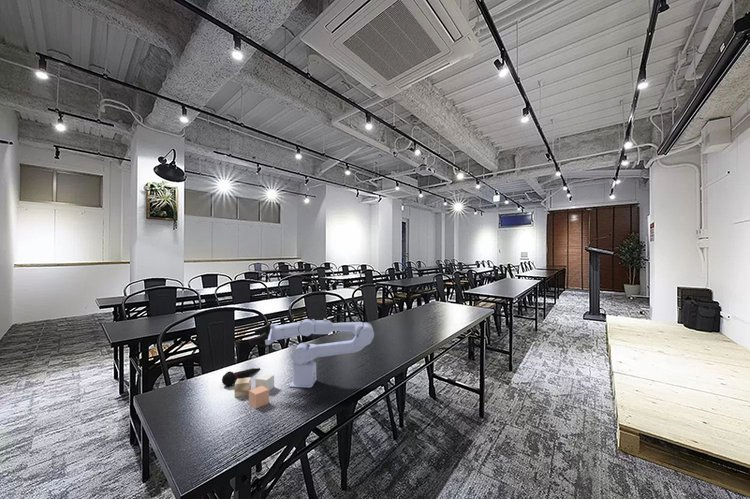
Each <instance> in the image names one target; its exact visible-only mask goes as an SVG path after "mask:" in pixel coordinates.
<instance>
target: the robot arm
mask: <svg viewBox="0 0 750 499" xmlns="http://www.w3.org/2000/svg"><path fill="white" fill-rule="evenodd" d="M332 332H346V333H347V332H350V333H352V334H353V335H354V337H353V338H352V339H349V340H343V341H342V340H341V341H335V342H326V343H319V344H314V343H306V342H300V343H299V344H297V346H296V348H295V349H294V351H293V352H292V354H291V361H292V382H290V384H289V385H288V387H289V388H309V389H310V388H312V387H313V386H314V384H315V383H316V382H317V380H318V379H317V362H315V361H313V360H315V359H317V358H324V357H331V356H338V355H344V354H345V355H346V354H353V353H359V352H360V351H361V350H362V349H364V348H365V347H366V346H368V345H370V344H371V343H372V342H373V339H374V337H375V332H374V329H373V325H372V324H371V322H367V321H366V322H362V321H349V322H348V321H347V322H346V321H345V322H332V321H331V320H330V319H328V320H327V318H323V320H320V319H317V320H315V318H312V319H309V318H305V319H303V320H302V321H297V322H295V321H294V322H290V323H284V324H279V323H277V322H276V323H272V322H269V323H267V324H266V325H264V326H262V327H258V328H257V329H255V330H254V334H255V336H254V337H252V338H249V339H248V343H249V345H251V346H260V347H264V348H268V346H269V345H271V344H272V343H274V342H275V341H278V340H283V339H290V338H294V337H299V336H305V337H309V336H311V335H312V334H313V335H330V333H332Z"/></svg>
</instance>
